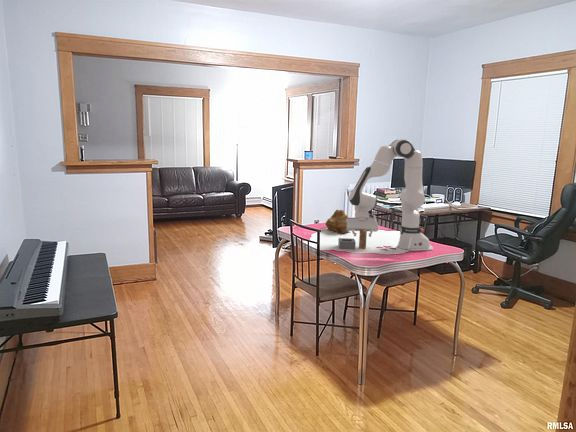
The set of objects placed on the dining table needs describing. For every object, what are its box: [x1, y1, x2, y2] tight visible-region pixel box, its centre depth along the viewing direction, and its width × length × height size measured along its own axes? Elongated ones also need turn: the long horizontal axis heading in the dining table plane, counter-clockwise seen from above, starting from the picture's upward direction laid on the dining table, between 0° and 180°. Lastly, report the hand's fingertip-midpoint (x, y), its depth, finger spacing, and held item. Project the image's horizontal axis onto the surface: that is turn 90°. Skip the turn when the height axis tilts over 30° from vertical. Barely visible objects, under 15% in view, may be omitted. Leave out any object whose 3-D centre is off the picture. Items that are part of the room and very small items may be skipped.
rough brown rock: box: [325, 209, 349, 234], centre depth 329 cm, size 23×17×15 cm
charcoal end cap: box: [337, 237, 357, 251], centre depth 275 cm, size 10×9×5 cm
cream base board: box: [338, 245, 372, 252], centre depth 275 cm, size 20×11×2 cm, turn 87°
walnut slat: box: [358, 229, 368, 249], centre depth 274 cm, size 4×3×12 cm
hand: (362, 236), depth 274 cm, fingers open, 8 cm apart
